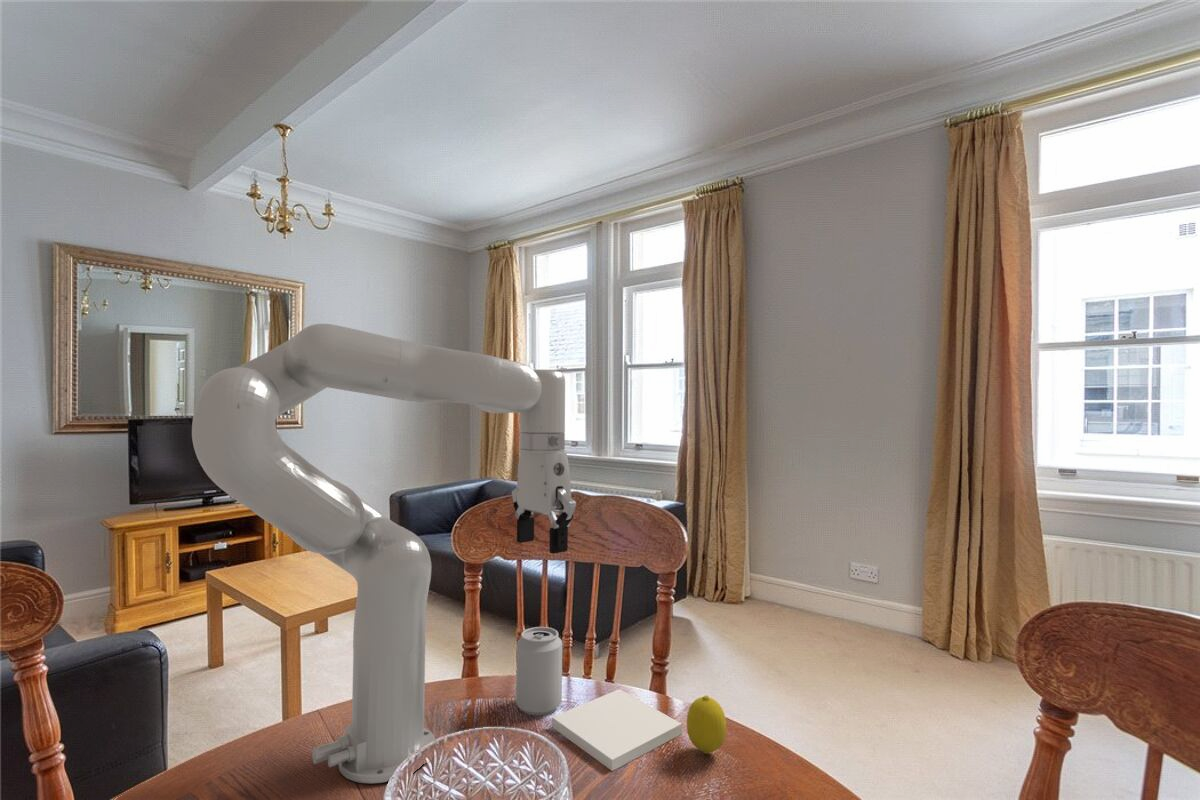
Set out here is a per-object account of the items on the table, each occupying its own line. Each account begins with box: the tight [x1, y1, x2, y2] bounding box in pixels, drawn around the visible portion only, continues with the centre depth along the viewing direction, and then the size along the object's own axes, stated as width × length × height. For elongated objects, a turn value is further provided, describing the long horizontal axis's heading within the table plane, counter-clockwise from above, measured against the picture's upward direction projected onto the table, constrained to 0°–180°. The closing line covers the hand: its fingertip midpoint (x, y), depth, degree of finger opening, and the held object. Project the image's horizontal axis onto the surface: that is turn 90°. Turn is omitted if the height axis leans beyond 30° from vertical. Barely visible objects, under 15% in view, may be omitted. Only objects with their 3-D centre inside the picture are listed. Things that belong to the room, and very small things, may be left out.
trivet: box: [551, 688, 683, 772], centre depth 85 cm, size 14×14×2 cm
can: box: [515, 626, 563, 716], centre depth 92 cm, size 8×8×12 cm
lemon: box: [686, 695, 727, 755], centre depth 80 cm, size 6×6×8 cm
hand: (541, 546), depth 93 cm, fingers open, 9 cm apart
